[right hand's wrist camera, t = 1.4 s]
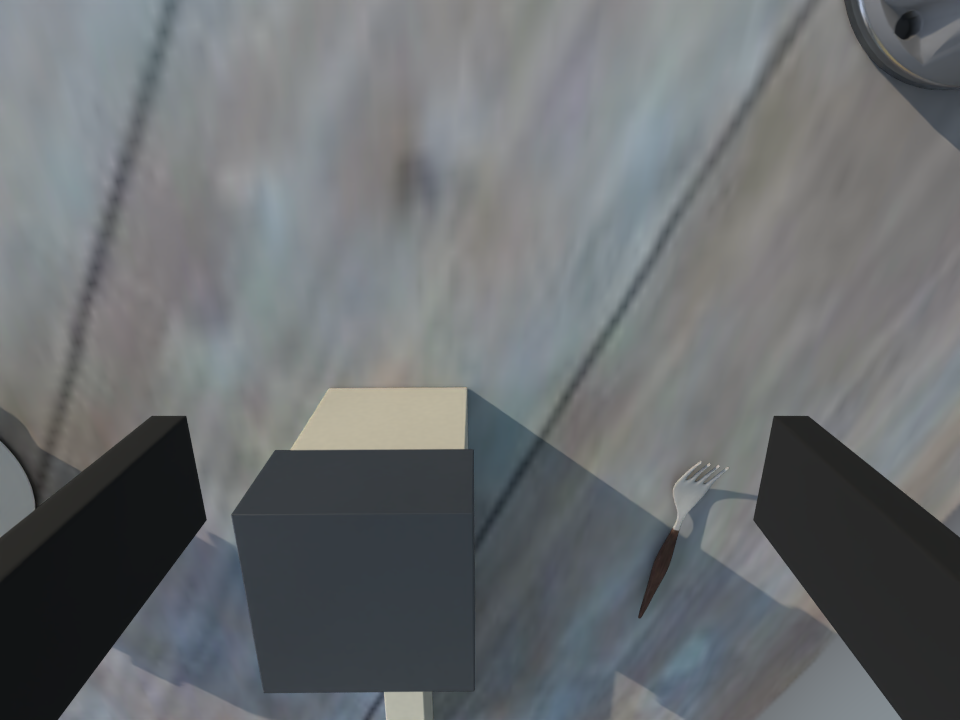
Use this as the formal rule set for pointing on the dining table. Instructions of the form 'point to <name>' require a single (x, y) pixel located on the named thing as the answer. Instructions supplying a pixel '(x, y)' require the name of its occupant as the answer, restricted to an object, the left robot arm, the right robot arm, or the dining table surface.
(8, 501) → the left robot arm
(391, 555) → the dark gray block
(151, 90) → the dining table surface
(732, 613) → the dining table surface
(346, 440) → the cream block
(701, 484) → the fork
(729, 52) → the dining table surface
